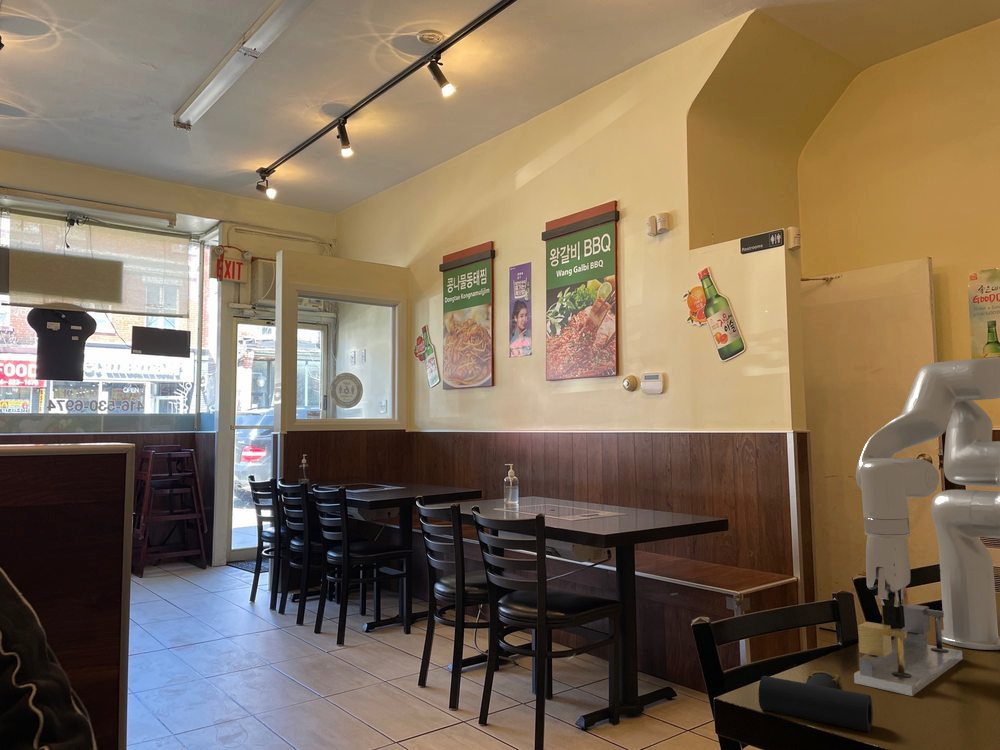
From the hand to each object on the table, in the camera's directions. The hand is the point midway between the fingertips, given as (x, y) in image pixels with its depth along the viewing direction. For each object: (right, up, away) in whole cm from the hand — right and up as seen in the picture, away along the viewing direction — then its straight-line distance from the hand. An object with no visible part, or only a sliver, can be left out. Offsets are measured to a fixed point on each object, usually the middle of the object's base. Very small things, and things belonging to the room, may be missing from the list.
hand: (894, 626), depth 131 cm
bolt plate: (+2, -7, -2) cm, 8 cm away
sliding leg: (-6, -5, -8) cm, 11 cm away
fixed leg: (+10, -6, +7) cm, 14 cm away
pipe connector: (-24, -6, -22) cm, 33 cm away
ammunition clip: (+9, -9, +15) cm, 20 cm away
